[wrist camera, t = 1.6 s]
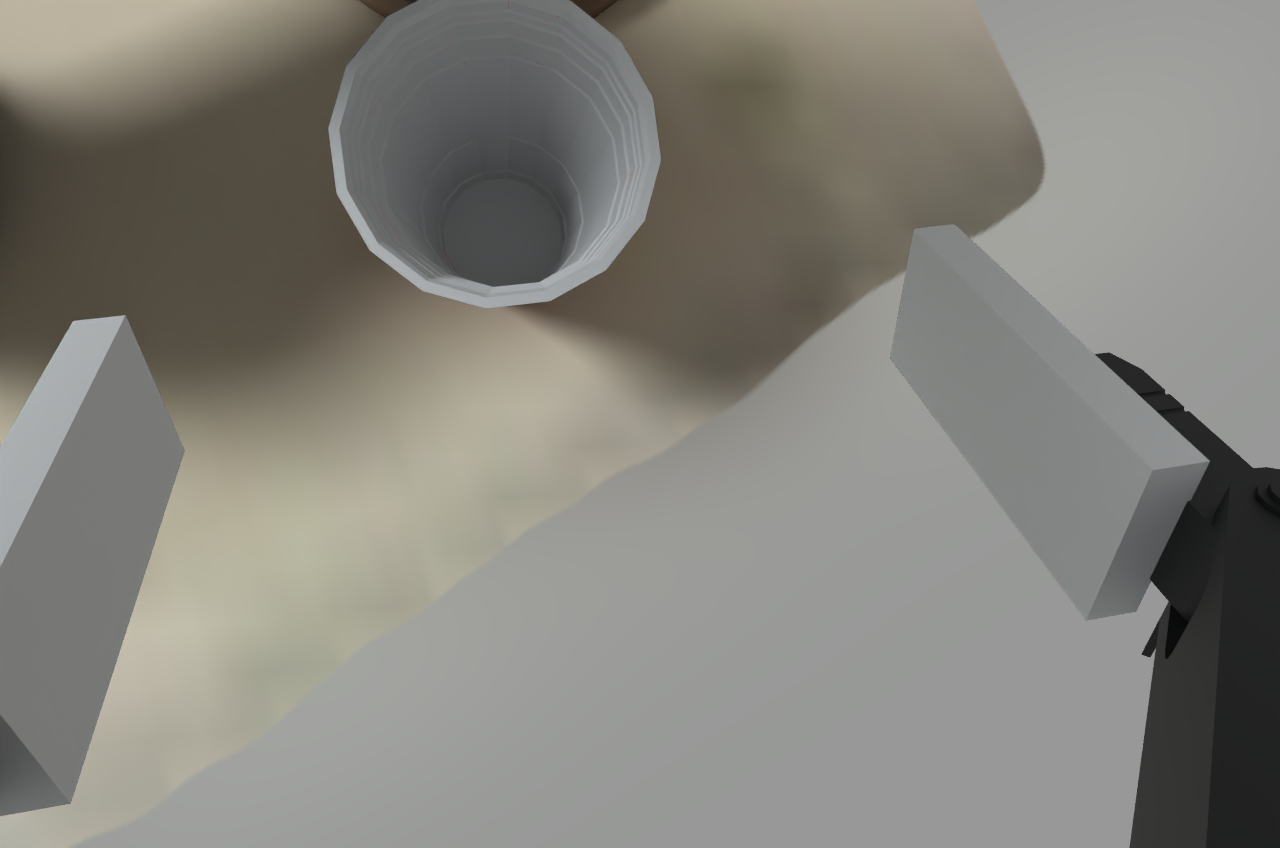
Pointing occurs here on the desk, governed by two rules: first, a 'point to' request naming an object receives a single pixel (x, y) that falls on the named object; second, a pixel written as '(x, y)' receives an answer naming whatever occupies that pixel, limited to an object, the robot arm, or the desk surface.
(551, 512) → the desk surface
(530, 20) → the plastic cup
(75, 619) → the robot arm
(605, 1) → the cup holder
